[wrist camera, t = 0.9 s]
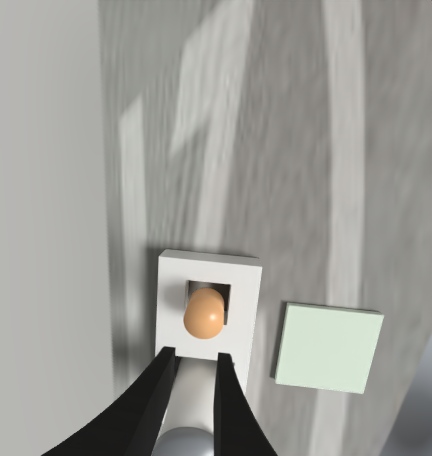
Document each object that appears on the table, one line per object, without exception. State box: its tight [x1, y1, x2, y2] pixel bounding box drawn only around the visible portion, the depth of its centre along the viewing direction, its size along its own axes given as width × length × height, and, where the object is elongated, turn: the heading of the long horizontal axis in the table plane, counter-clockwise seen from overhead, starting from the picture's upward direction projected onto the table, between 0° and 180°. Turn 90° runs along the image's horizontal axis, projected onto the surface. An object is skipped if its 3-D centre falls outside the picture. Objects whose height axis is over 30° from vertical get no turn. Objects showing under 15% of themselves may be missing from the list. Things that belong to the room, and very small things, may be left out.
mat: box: [275, 302, 384, 394], centre depth 21 cm, size 8×8×1 cm
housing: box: [155, 249, 262, 423], centre depth 20 cm, size 16×8×2 cm, turn 175°
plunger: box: [183, 288, 224, 339], centre depth 17 cm, size 3×3×2 cm
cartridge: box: [152, 357, 217, 456], centre depth 18 cm, size 5×5×8 cm
